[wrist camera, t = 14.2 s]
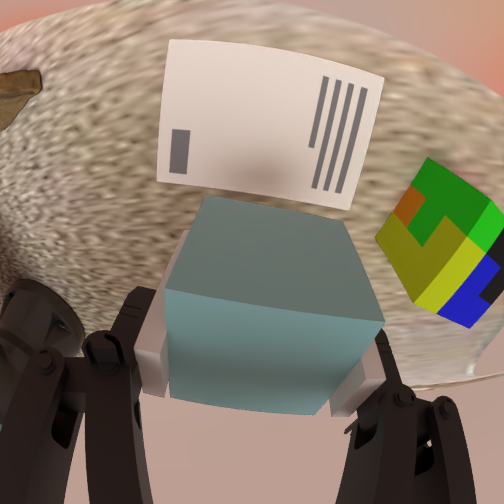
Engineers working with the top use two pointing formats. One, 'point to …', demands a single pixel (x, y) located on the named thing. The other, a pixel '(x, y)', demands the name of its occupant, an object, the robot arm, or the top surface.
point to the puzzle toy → (446, 245)
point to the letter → (265, 121)
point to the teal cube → (266, 309)
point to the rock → (16, 93)
